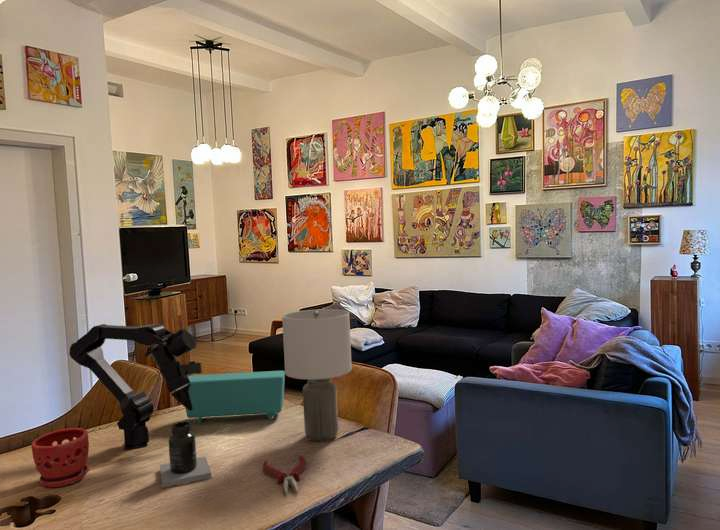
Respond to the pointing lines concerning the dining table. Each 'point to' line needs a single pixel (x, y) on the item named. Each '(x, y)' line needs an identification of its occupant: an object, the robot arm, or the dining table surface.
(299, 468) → the pliers
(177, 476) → the grey flat square slab
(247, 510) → the dining table surface
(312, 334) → the lamp
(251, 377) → the teal foam block
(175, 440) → the supplement bottle
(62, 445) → the plant pot
